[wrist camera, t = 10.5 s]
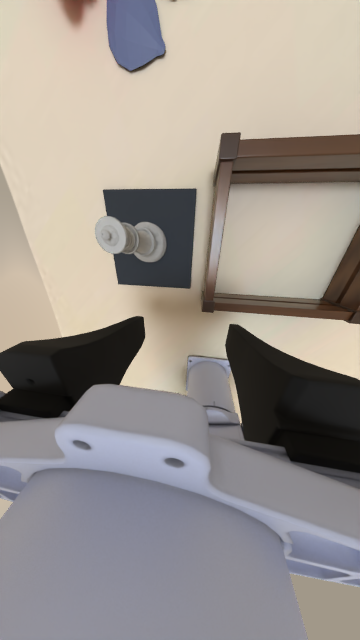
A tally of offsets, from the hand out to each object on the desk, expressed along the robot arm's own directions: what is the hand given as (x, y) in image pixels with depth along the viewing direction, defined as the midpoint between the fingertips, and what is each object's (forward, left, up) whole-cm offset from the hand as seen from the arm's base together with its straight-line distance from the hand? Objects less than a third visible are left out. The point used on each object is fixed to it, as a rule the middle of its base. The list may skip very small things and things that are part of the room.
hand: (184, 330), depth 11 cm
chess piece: (+7, +6, -10) cm, 13 cm away
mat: (+7, +6, -10) cm, 14 cm away
